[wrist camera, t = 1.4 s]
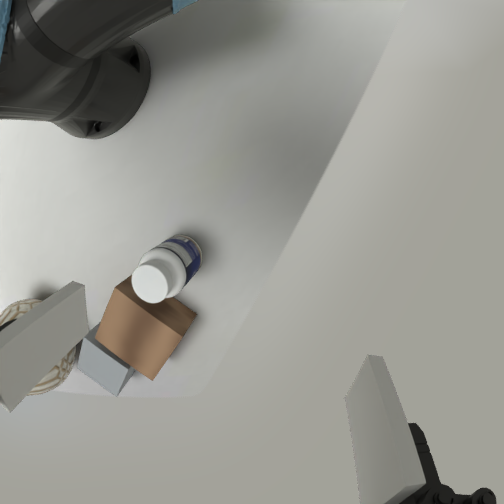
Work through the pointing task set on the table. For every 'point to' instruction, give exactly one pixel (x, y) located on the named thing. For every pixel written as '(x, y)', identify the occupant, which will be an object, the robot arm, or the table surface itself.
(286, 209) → the table surface
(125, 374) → the slate block
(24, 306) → the vase
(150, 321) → the walnut block
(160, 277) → the pill bottle
